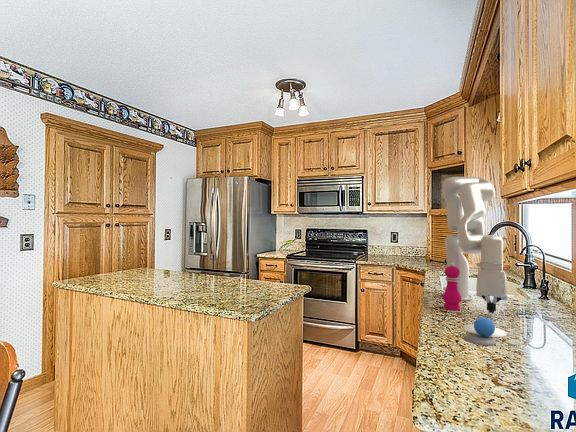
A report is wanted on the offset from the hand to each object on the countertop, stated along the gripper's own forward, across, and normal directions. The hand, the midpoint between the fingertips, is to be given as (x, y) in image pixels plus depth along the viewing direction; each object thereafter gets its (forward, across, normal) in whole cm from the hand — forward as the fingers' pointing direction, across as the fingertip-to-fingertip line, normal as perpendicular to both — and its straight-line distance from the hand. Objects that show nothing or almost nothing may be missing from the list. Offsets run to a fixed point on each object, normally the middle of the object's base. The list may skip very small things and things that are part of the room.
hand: (491, 312), depth 131 cm
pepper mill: (+2, -15, +2) cm, 15 cm away
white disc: (+2, 0, -22) cm, 22 cm away
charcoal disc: (+2, 0, -34) cm, 34 cm away
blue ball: (-2, +1, -28) cm, 28 cm away
